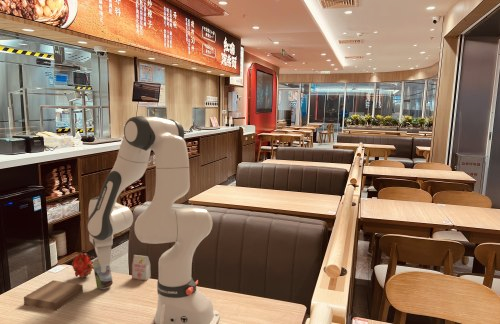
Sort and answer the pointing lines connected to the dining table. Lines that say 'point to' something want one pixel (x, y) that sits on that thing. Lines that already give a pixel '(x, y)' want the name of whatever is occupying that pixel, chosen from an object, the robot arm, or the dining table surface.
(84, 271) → the dragon fruit
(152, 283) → the dining table surface
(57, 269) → the dining table surface
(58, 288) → the walnut base
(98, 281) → the beverage can
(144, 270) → the tea bag
